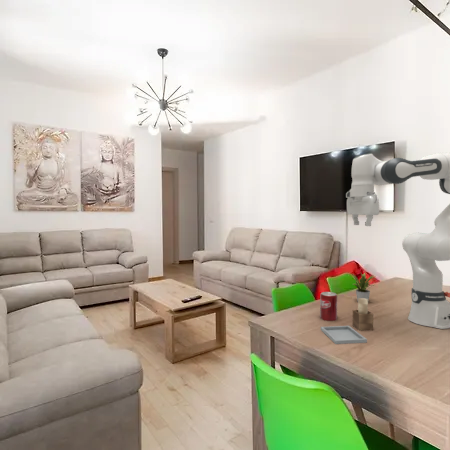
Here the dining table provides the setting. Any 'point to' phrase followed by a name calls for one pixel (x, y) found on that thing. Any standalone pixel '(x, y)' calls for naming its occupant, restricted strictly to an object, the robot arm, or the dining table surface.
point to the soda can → (328, 306)
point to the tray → (343, 335)
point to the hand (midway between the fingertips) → (362, 225)
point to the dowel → (363, 306)
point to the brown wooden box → (362, 321)
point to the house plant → (362, 287)
